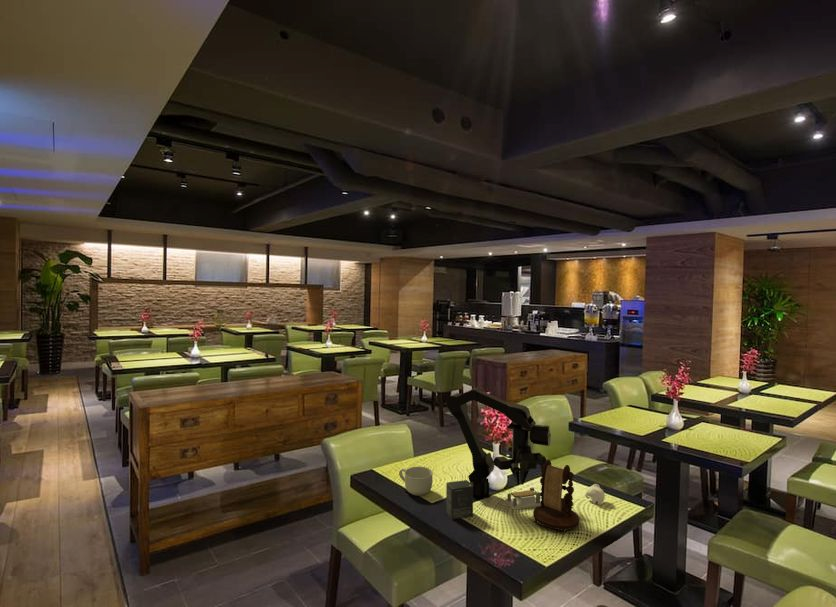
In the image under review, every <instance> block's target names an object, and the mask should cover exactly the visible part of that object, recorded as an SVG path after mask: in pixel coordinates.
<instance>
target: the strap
mask: <svg viewBox="0 0 836 607" xmlns="http://www.w3.org/2000/svg"><path fill="white" fill-rule="evenodd" d="M536 492H537V491H536V490H535V489H534V490H530V489H528V490H523V491H522V490H521V491H514V492H510V494H511V497H513V498H516V497H524V496H531V495H534V496H536Z"/></svg>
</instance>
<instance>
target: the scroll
mask: <svg viewBox="0 0 836 607" xmlns="http://www.w3.org/2000/svg"><path fill="white" fill-rule="evenodd" d="M540 469H541V470H540V472H541V476H540V477H541V478H540V479H539V483H540V485H541V487H540V501H541V503H540V504H541V506H537V507H534V509H533V511H532V517H533V520H534V523H535V524H537V523H538V524H540V525H542V526H544V527H546V528H551V529H554V530H561V533H563V534H565V532H566V530H572V529H575V528H578V526H580V523H581V520H580V516H579V514H578V513H577V512H575V511H574V510H573V506H574V501H573V499H574V498H573V494H574V491H575V487H573V486H574V483H573V481H574V477H575V474H574V473H573V472H572V471H571V467H570V465H568V464H566V465H564V467H563V468H561V467H557V466H555V465H554V466H553V465H552V462H551V460H550V459H547V461H546V462H545V464H542V465H541V466H540ZM567 482H568V483H567ZM566 485H568V486H566ZM563 491H566V492H567V493H565V494H564V496H563V497H562V493H563Z"/></svg>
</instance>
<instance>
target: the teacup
mask: <svg viewBox="0 0 836 607" xmlns="http://www.w3.org/2000/svg"><path fill="white" fill-rule="evenodd" d="M403 472H404V474H403ZM398 475H399V478H400V479H401V480H402V482H404V485H405V486H404V487H405V489H406V491H407V492H408V493H409V494H410V495H412V496H418V497H419V496H424V495H426V494H428V493H429V492H430V491H431V490H432V488H433V475H434V472H433V470H432V469H430V468H429V467H426V466H418V465H417V466H412V467H409V468H401V469H399V471H398Z"/></svg>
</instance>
